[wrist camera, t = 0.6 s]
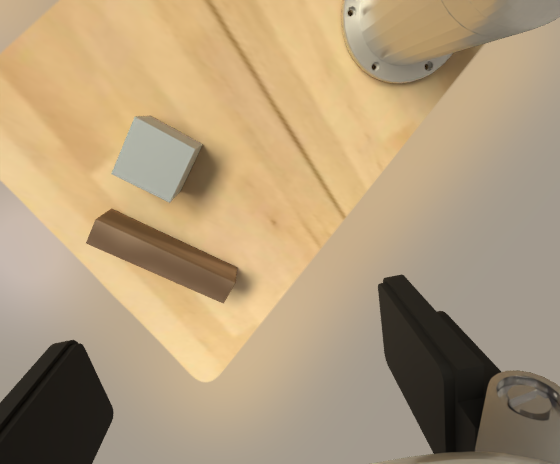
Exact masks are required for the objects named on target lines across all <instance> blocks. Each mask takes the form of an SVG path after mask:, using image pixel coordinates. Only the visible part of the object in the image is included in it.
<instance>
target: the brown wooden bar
mask: <svg viewBox="0 0 560 464" xmlns="http://www.w3.org/2000/svg"><path fill="white" fill-rule="evenodd" d="M86 243H87V244H89V245H91V246H93V247H96V248H98V249H100V250H103V251H105V252H107V253H109V254H112V255H114V256H116V257H119V258H121V259H123V260H125V261H128V262H130V263H132V264H135V265H137V266H139V267H141V268H144V269H146V270H148V271H151V272H153V273H155V274H157V275H160V276H162V277H164V278H166V279H169V280H171V281H173V282H176V283H178V284H180V285H182V286H185V287H187V288H189V289H192V290H194V291H196V292H198V293H201V294H203V295H205V296H208V297H210V298H212V299H214V300H217V301H219V302H221V303H224V302H225V300H226V298H227V296H228V295H229V293H230V291H231V290H232V288H233V286H234V284H235V281H236V273H237V267H235V266H233V265H231V264H229V263H226V262H224V261H222V260H220V259H218V258H216V257H214V256H212V255H209V254H207V253H205V252H203V251H201V250H199V249H197V248H194V247H192V246H190V245H188V244H186V243H184V242H182V241H179V240H177V239H175V238H173V237H171V236H169V235H167V234H164V233H162V232H160V231H158V230H156V229H154V228H152V227H149V226H147V225H145V224H143V223H141V222H139V221H137V220H135V219H132V218H130V217H128V216H126V215H124V214H122V213H120V212H117V211H115V210H113V209H110V210H109V211H107V212H106V213H104V214H103V215H101V216H100V217H98V218H97V219H96V220H95V222H94V225H93V227H92V230H91V232H90V235H89V237H88V240H87V242H86Z"/></svg>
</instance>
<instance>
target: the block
mask: <svg viewBox="0 0 560 464" xmlns="http://www.w3.org/2000/svg"><path fill="white" fill-rule="evenodd" d="M202 145H203V144H201V143H200V142H198V141H196V140H194V139H192V138H190V137H189V136H187V135H185V134H183V133H181V132H179V131H178V130H176V129H174V128H172V127H170V126H168V125H167V124H165V123H163V122H161V121H159V120H157V119H156V118H154V117H152V116H138V117H134V120H133V122H132V125H131V127H130V130H129V132H128V134H127V137H126V139H125V142H124V144H123V147H122V149H121V152H120V154H119V157H118V159H117V161H116V164H115V166H114V169H113V171H112V174H113V175H115V176H117V177H119V178H121V179H123V180H125V181H127V182H129V183H131V184H133V185H135V186H137V187H139V188H141V189H143V190H145V191H147V192H149V193H151V194H153V195H155V196H157V197H159V198H161V199H163V200H165V201H167V202H169V203H170V202H171V201H172V200H173V199H174V198H175V197H176V196H177V195H178V194H179V193H180V191H181V189H182V187H183V185H184V183H185V181H186V179H187V177H188V175H189V172H190V170H191V168H192V166H193V164H194V162H195V160H196V158H197V156H198V154H199V152H200V149H201V147H202Z"/></svg>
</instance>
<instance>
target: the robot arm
mask: <svg viewBox="0 0 560 464" xmlns="http://www.w3.org/2000/svg"><path fill="white" fill-rule="evenodd" d="M348 11H350V12H351V13H352V16H348ZM559 17H560V0H343V5H342V30H343V36H344V40H345V43H346V46H347V49H348V51H349V53H350V54H351V56H352V58H353V60H354V61H355V62H356V63H357V65H358V66H359V67H360V68H361V69H362V70H363V71H364V72H366V73H367V74H369V75H370V76H371V77H373V78H376V79H378V80H380V81H384V82H388V83H406V82H412V81H415V80H418V79H421V78H424V77H426V76H428V75H430V74H432V73H433V72H435V71H436V70H437V69H438V68H440V67H441V66H442V65H443V64H444V63H445V62H446V61H447V60H448V59H449V58H450V57H451V55H452V54H453V53H454V52H457V51H461V50H464V49H468V48H471V47H474V46H478V45H481V44H485V43H488V42H491V41H495V40H498V39H502V38H505V37H509V36H512V35H516V34H519V33H522V32H525V31H529V30H532V29H535V28H538V27H540V26H543V25H545V24H548V23H550V22H552V21H554V20H556V19H557V18H559ZM372 65H375V69H374V70H372ZM425 65H427V69H425ZM378 291H379V301H380V312H381V322H382V332H383V343H384V353H385V357H386V361H387V364H388V366H389V368H390V370H391V372H392V374H393V376H394V378H395V380H396V382H397V384H398V386H399V388H400V389H401V391H402V393H403V395H404V397H405V399H406V401H407V403H408V405H409V407H410V409H411V410H412V413H413V415H414V416H415V418H416V420H417V422H418V424H419V426H420V428H421V430H422V432H423V434H424V436H425V438H426V440H427V442H428V443H429V445H430V447H431V449H432V451H433V453H434V454H430V455H421V456H414V457H407V458H401V459H395V460H389V461H383V462H377V463H371V464H560V387H559V386H558V385H557V384H556V383H554V382H552V381H550V380H548V379H546V378H545V377H542V376H539V375H536V374H533V373H530V372H524V371H505V372H501V371H500V370H499V369H498V368H497V367H496V366H495V365H494V364H493V362H492V361H491V360H490V359H489V358H488V357H487V356H486V355H485V354H484V353H483V352H482V351H481V350H480V349H479V348H478V346H476V344H475V343H474V342H473V341H472V340H471V339H470V338H469V337H468V336H467V335H466V334H465V333H464V332H463V331H462V330H461V328H459V326H458V325H457V324H456V323H455V322H454V321H453V320H452V319H451V318H450V317H449V316H448V315H447V314H446V313H445V312H443V311H438V312H436V311H435V310H434V309H433V307H432V306H431V305H430V304H429V303H428V302H427V301H426V300H425V299H424V298H423V296H422V295H421V294H420V293H419V292H418V291H417V290H416V289H415V287H414V286H412V284H411V283H410V282H409V281H408V280H407V278H405V276H404V275H397V276H392V277H387V278H384V280H383V283H381V284H379V285H378ZM112 419H113V408H112V405H111V403H110V401H109V399H108V397H107V395H106V393H105V390H104V388H103V386H102V384H101V382H100V380H99V378H98V376H97V373H96V372H95V369H94V367H93V365H92V363H91V361H90V358H89V357H88V354H87V352H86V350H85V348H84V346H83V345H82V344H78V342H76V341H75V340H70V341H65V342H61V343H55V344H53V345H51V346H50V347H49V348H48V349H47V350H46V352H45V353H44V354H43V355H42V356H41V357H40V358H39V359H38V361H37V362H36V363H35V364H34V365H33V366H32V367H31V369H30V370H29V371H28V372H27V373H26V374H25V375H24V377H23V378H22V379H21V380H20V381H19V382H18V383H17V384H16V386H15V387H14V388H13V389H12V390H11V391H10V393H9V394H8V395H7V396H6V397H5V398H4V399H3V400H2V402H1V403H0V464H92V463H93V460H94V458H95V456H96V454H97V452H98V450H99V448H100V445H101V443H102V441H103V439H104V437H105V435H106V433H107V430H108V428H109V426H110V424H111V422H112Z"/></svg>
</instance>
